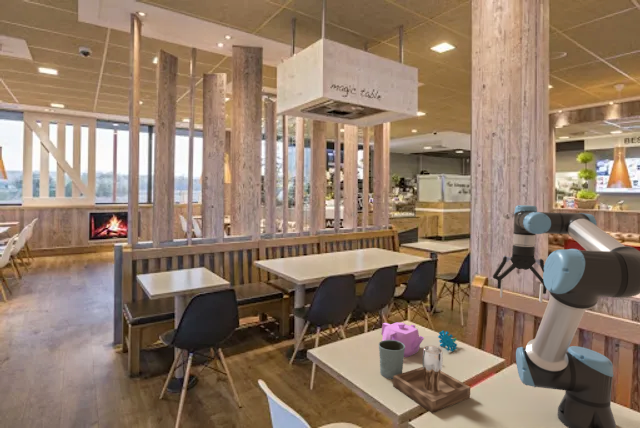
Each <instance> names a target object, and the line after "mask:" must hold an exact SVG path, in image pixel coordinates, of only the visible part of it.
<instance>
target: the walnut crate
mask: <svg viewBox="0 0 640 428" xmlns="http://www.w3.org/2000/svg"><path fill="white" fill-rule="evenodd" d="M392 381H393V382H392V387H393V388H394V389H396V390H398V391H399V392H401V394H403V395H405V396H406V397H408V398H409V399H411V401H413V400H414V401H413V402H415V403H416V404H418V405H419V406H421V407H422V408H423V409H425V410H426V411H428V412H429V413H431V414H434V413H437V412H440V411H441V410H444V409H446V408H448V407H451V406H454V405H456V404H458V403H462V402H463V401H466V400H468V399H470V398H471V386H470V385H467V384H465V383H464V382H462V381H460V380H458V379H456V378H455V377H453V376H452V375H449V374H448V373H445V372H444V371H443V370H441V374H440V379H439V386H440V392H439V393H437V394H431V393H427V392H425V391H424V390H423V383H424V372H423V366H421V367H418V368H414V369H411V370H408V371H405V372H402V373H401V374H398V375H395V376H393V379H392Z"/></svg>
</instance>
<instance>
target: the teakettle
mask: <svg viewBox="0 0 640 428" xmlns="http://www.w3.org/2000/svg"><path fill="white" fill-rule="evenodd" d="M381 325H382V327H381V332H380V333H381V335H382V340H381V341H384V340H396V341H399V342H401V343H403V344H404V345H405V351H404V358H408V357H411V356H412V355H413V356H414V355H415V354H417V353H418V352H419V351H420V345H421V344H422V342H423V341H424V340H425V337H423V336H422V335H420V334H419V329H418V328H416V325H415V324H410V325H408V324H405V323H404V322H397V321H396V322H394V323H391V324H390V323H388V322H384V323H381Z"/></svg>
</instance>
